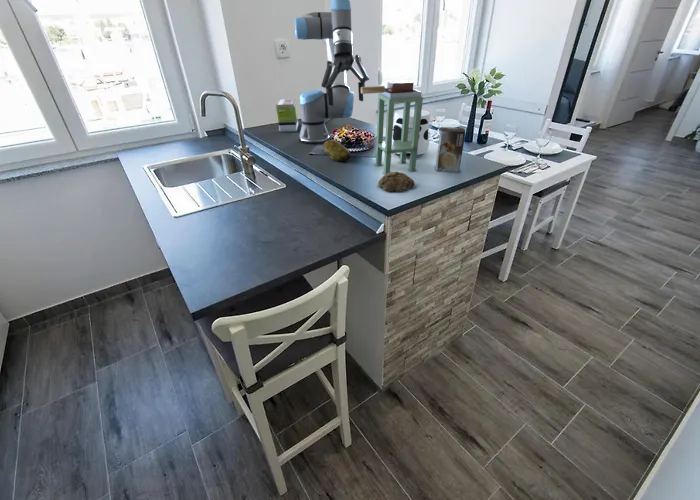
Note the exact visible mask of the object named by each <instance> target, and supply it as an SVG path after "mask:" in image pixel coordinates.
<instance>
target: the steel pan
mask: <svg viewBox="0 0 700 500" xmlns="http://www.w3.org/2000/svg"><path fill="white" fill-rule="evenodd" d="M379 94H381V95H383V96H385V97H388V98H390V99H396V98H412V97H422V91H420V90H417V89H415V88H413V92H406V93H389V92H387V90H385V93H379Z"/></svg>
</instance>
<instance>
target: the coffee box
mask: <svg viewBox="0 0 700 500" xmlns="http://www.w3.org/2000/svg"><path fill="white" fill-rule="evenodd" d="M465 138H466V129H465V128H464V127H453V126H452V127H451V126H449V127H446V126H445V127H444V126H440V128H439V137H438V145H437V152H436V158H435V159H436V160H435V169H436V172H449V173H450V172H451V173H453V172H454V173H455V172H456V173H459V172H460V170H461V163H462V157H463V152H464V144H465Z"/></svg>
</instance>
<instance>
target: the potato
mask: <svg viewBox="0 0 700 500" xmlns="http://www.w3.org/2000/svg"><path fill="white" fill-rule="evenodd" d="M322 150H323V151H324V153H325V155H327V156H328V157H329V158H331V160H333V161H336V162H347V161H349V160H350V159H351V152H350V151H349V149H348V148H346V147H345V146H344V145H343V144H342V143H340V142H338V141H337V140H336V139H329V140H327V141H326V142H323V143H322Z"/></svg>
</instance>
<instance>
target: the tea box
mask: <svg viewBox="0 0 700 500" xmlns="http://www.w3.org/2000/svg"><path fill="white" fill-rule="evenodd" d="M275 109H276V110H275V111H276V116H277V117H276V118H277V124H278V131H279V132H280V133H289V132H290V133H291V132H297V131H298V128H299V118H298V109H297V100H296V98H285V99H283V98H281V99H278V100H277V102H276V104H275Z"/></svg>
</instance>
